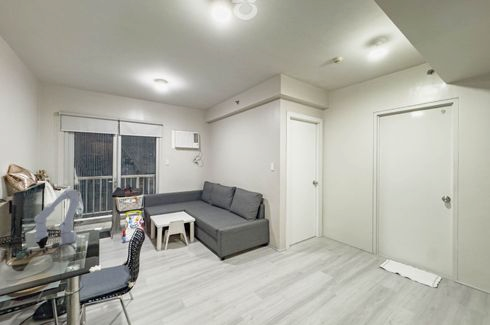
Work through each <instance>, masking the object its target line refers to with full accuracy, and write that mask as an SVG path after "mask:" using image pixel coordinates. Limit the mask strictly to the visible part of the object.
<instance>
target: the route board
mask: <svg viewBox="0 0 490 325" xmlns="http://www.w3.org/2000/svg"><path fill="white" fill-rule="evenodd" d="M45 249H46V250H45ZM45 249H43V251H37V252H32V250H29V251H28V250H27V251H26V250H22V251H21V250H20V252H18V253H17V254H15V259H14V260H13V261H21V260H25V259H29V258H30V259H31V258H36V257H39V256H44V255H52V254H54V253H55V252H56V251H57V250H58V249H59V248H53V249H48V247H45ZM29 252H30V253H29Z"/></svg>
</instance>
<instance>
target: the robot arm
mask: <svg viewBox="0 0 490 325" xmlns="http://www.w3.org/2000/svg"><path fill="white" fill-rule="evenodd" d="M67 199H69V200H70V204H69V205H68V209H67V212H66V215H65V218H64V220H63V221H62V223H61V224H60V225H59V230H60V239H61V242H59V245H62V244H63V245H66V243H67V244H72V243H75V242H76V241H77V240H78V238H77V231H76V230H73V224H74V223H73V220H74V218H75V214H76V211H77V208H78V206H79V202H80V197H79V194H78V192H77V191H76V190H74V189H71V188H70V189H65V190H64V191H63V192H61V193H60V195H59V196H58V197H57V198H56V199H55V200H54V201H53V202H52V203H51V204H50V205H48V206H45V207H43V210H42V211H41V212H39V213H38V215H35V216H34V218H33V221H34V222H35V224H34V225H35V230H36V235H37V236H36V237H35V238H36V240H35V241H36V243H37V244H38V245H39V246H38V247H40V249H41V248H44V247H45V245H48V244H47V243H48V239H49V232H48V230H47V223H46V221H47V218H48V217H49V216H50V215H51V214H52V213H53V212H54V211H55V208H56V207H57V206H58V205H59V204H61V203H62V202H63V201H64V200H67Z"/></svg>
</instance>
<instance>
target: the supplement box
mask: <svg viewBox="0 0 490 325" xmlns="http://www.w3.org/2000/svg"><path fill="white" fill-rule="evenodd" d="M36 236H37V235H36V229H33V230H30V231H27V232H25V233H24V237H25V242H26V243H25V245H26V249H28V248H30V247H39V245H38V244H37V243H36V241H35V240H36V238H35V237H36Z"/></svg>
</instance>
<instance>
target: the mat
mask: <svg viewBox="0 0 490 325" xmlns="http://www.w3.org/2000/svg"><path fill="white" fill-rule="evenodd" d="M63 245H64V244H61V245H60V244H59V246H58V247H55V248H58V249H59V248H61V247H62V246H63ZM48 249H53V248H48ZM45 250H46V249H45ZM38 251H43V250H38ZM32 252H37V251H32ZM29 253H30V252H29Z"/></svg>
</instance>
